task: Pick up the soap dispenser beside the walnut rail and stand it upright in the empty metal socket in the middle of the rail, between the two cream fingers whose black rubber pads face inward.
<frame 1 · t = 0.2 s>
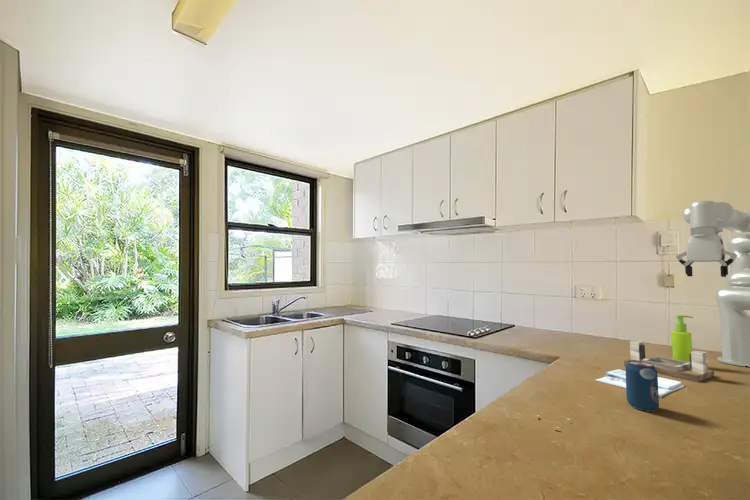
hand: (706, 276, 129), 36 cm above the countertop, tool pointing down, fingers open, 9 cm apart
folded white towel: (636, 385, 111), on the countertop
soda can: (642, 408, 91), on the countertop
soap dispenser: (684, 366, 133), on the countertop
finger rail: (666, 370, 126), on the countertop
drain cover: (555, 425, 81), on the countertop
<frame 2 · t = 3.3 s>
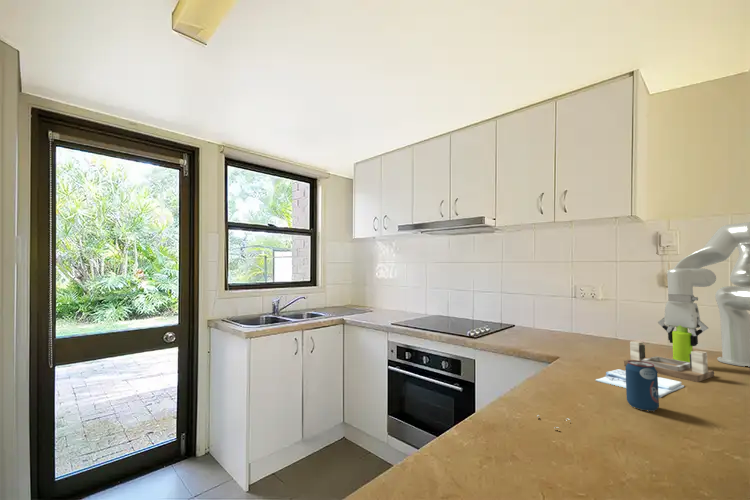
hand: (682, 343, 133), 9 cm above the countertop, tool pointing down, fingers closed on soap dispenser, 6 cm apart
soap dispenser: (684, 366, 133), on the countertop, touching gripper
everything else where it was.
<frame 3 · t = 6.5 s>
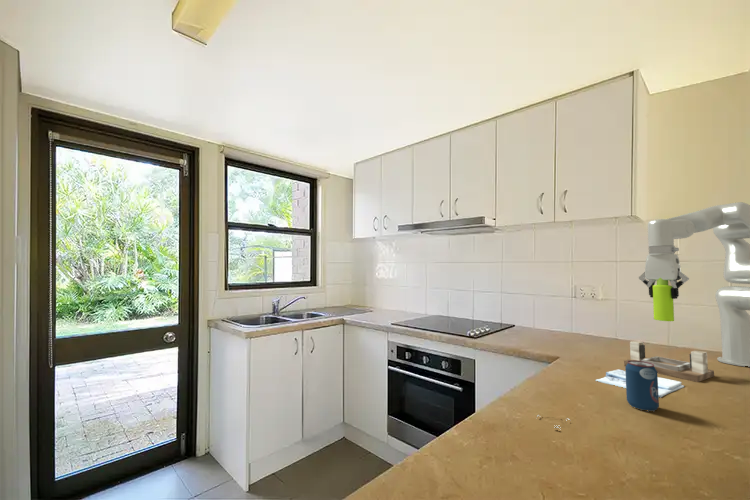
hand: (663, 297, 128), 28 cm above the countertop, tool pointing down, fingers closed on soap dispenser, 6 cm apart
soap dispenser: (665, 320, 127), point 19 cm above the countertop, touching gripper
everything else where it was.
when the fingers open (11 cm above the countertop, at t = 10.0 s): soap dispenser stays where it is, resting on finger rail.
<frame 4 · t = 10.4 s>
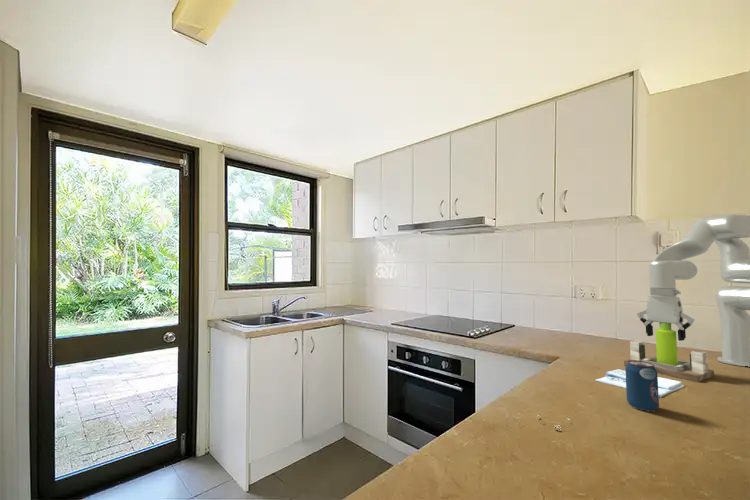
hand: (665, 337, 127), 12 cm above the countertop, tool pointing down, fingers open, 9 cm apart
soap dispenser: (668, 366, 126), point 2 cm above the countertop, touching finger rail
everything else where it was.
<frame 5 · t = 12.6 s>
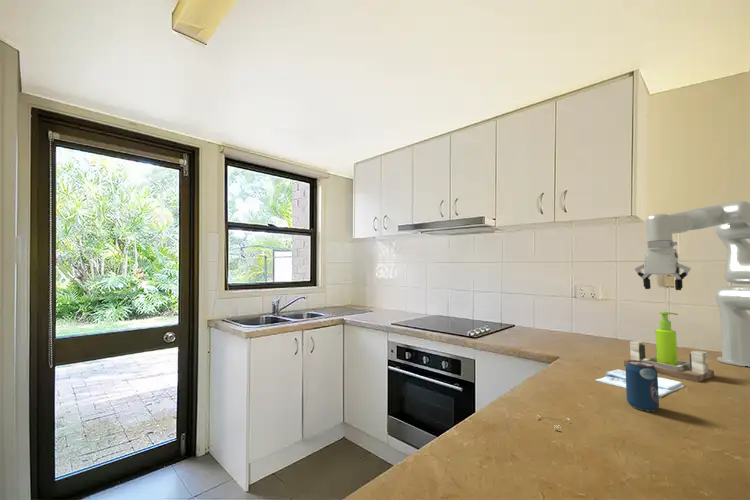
hand: (662, 289, 130), 31 cm above the countertop, tool pointing down, fingers open, 9 cm apart
nothing on the countertop moved.
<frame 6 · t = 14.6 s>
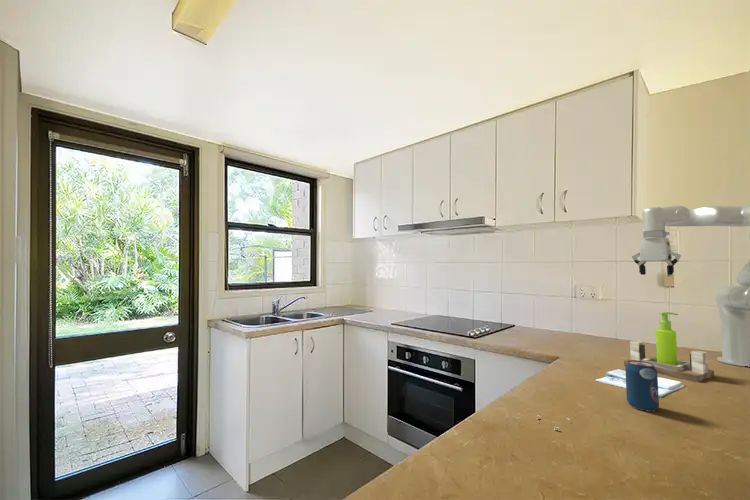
hand: (656, 274, 145), 36 cm above the countertop, tool pointing down, fingers open, 9 cm apart
nothing on the countertop moved.
at the end: soap dispenser 0.7 cm off-centre on the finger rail, point 1.8 cm above the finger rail's base; soap dispenser tilted 0°; the gripper is holding nothing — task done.
